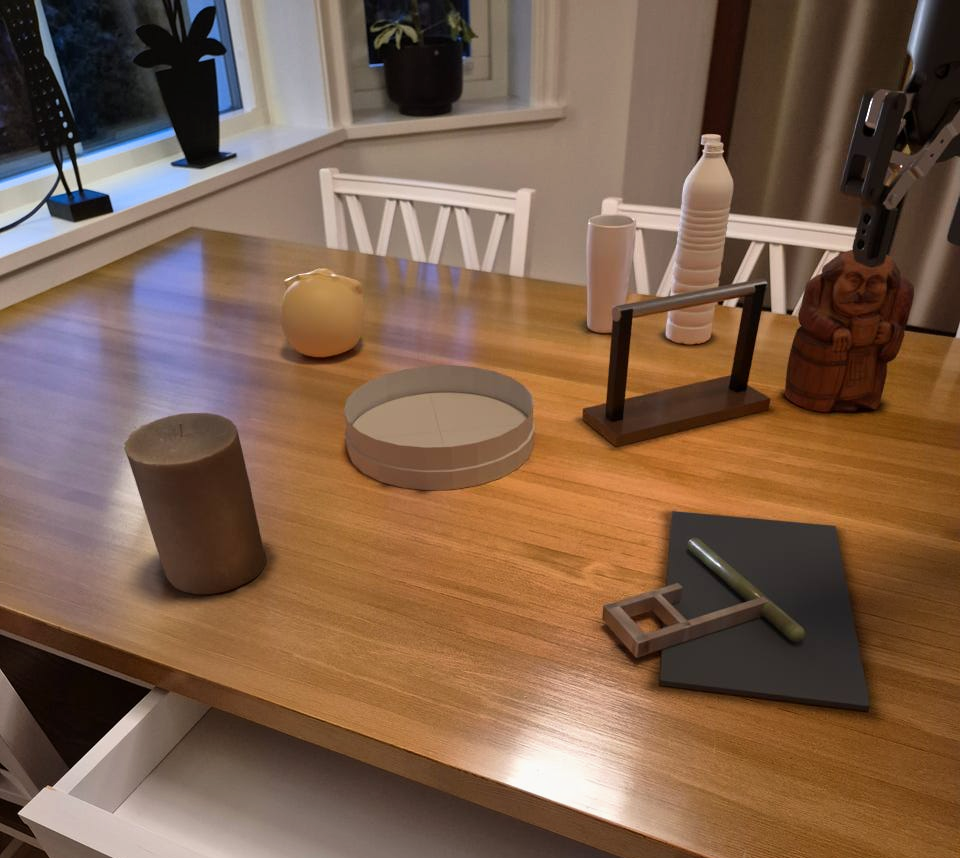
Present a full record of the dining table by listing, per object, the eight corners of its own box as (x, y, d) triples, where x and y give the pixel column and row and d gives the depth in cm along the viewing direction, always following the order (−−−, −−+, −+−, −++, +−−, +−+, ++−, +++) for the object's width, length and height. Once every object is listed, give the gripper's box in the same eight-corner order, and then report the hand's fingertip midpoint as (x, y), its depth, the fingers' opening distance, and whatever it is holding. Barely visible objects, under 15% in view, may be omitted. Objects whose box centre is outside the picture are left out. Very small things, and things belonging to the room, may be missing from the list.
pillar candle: (282, 543, 86) (253, 402, 76) (240, 602, 79) (203, 454, 69) (193, 533, 88) (154, 394, 78) (144, 589, 81) (95, 443, 71)
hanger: (811, 629, 71) (668, 677, 67) (806, 643, 72) (666, 692, 68) (698, 532, 82) (570, 568, 78) (695, 546, 83) (569, 583, 79)
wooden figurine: (789, 412, 106) (823, 259, 95) (778, 391, 111) (810, 242, 99) (887, 413, 105) (934, 259, 94) (872, 391, 110) (915, 242, 99)
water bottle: (712, 345, 123) (743, 147, 107) (666, 344, 124) (690, 147, 108) (707, 323, 130) (735, 133, 113) (663, 322, 130) (685, 133, 114)
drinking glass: (576, 333, 128) (581, 224, 118) (588, 317, 132) (595, 212, 123) (620, 338, 126) (630, 228, 116) (632, 322, 130) (642, 215, 121)
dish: (351, 499, 92) (345, 457, 89) (343, 410, 109) (338, 372, 106) (553, 479, 95) (554, 438, 92) (515, 395, 111) (515, 358, 108)
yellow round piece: (376, 335, 129) (368, 259, 122) (353, 367, 120) (343, 287, 113) (303, 332, 130) (291, 257, 123) (275, 363, 121) (260, 284, 114)
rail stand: (768, 409, 107) (794, 287, 97) (616, 447, 100) (627, 319, 91) (729, 385, 113) (749, 267, 103) (582, 419, 106) (589, 296, 96)
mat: (671, 515, 89) (672, 510, 88) (834, 530, 86) (835, 525, 86) (658, 685, 69) (659, 680, 69) (868, 711, 67) (870, 706, 66)
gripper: (955, -28, 45) (874, 288, 56) (1143, -46, 49) (1035, 252, 60) (854, -33, 50) (798, 256, 61) (1032, -49, 55) (950, 225, 65)
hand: (915, 254), depth 60 cm, fingers open, 8 cm apart
